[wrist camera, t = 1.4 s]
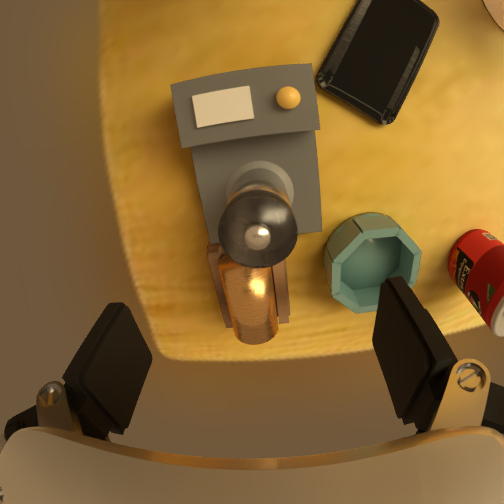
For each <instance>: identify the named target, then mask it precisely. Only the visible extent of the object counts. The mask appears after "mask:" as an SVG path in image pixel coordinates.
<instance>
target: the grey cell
mask: <svg viewBox="0 0 504 504" xmlns="http://www.w3.org/2000/svg"><path fill="white" fill-rule="evenodd" d="M297 236H298V229H297V223H296V220H295V216H294V213H293V211H292V208H291V204H290V201H289V197H288V194H287V190H286V187H285V184H284V182H283V180H282V179H281V178H280V176H279V175H277V174H276V173H275V172H273V171H271V170H268V169H264V168H255V169H251V170H248V171H246V172H245V173H243V174H242V175H241V176H240V177H239V178H238V180H237V181H236V183H235V185H234V188H233V190H232V193H231V196H230V198H229V201H228V203H227V206H226V207H225V209H224V211H223V214H222V216H221V219H220V222H219V226H218V237H219V241H220V244H221V246H222V248H223V250H224V252H225V253H226V254H227V255H228V256H229V257H230V258H231V259H232V260H234V261H235V262H237V263H238V264H241V265H243V266H246V267H250V268H267V267H271V266H274V265H276V264H278V263H280V262H281V261H283V260H284V259H285V258H286V257H288V256H289V254H290V253H291V252H292V250H293V249H294V247H295V244H296V241H297Z"/></svg>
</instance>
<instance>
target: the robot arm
mask: <svg viewBox="0 0 504 504" xmlns="http://www.w3.org/2000/svg"><path fill="white" fill-rule="evenodd" d="M372 342H373V347H374V350H375V352H376V355H377V357H378V360H379V363H380V366H381V369H382V372H383V375H384V378H385V381H386V384H387V387H388V390H389V393H390V396H391V399H392V402H393V405H394V409H395V412H396V415H397V417H398V418H402V420H403V423H404V425H406V424H409V423H413V422H414V423H415V426H416V428H417V431H416V433H415V435H413V436H408V437H404V438H401V439H397V440H393V441H389V442H385V443H380V444H377V445H371V446H366V447H361V448H356V449H350V450H345V451H339V452H332V453H326V454H318V455H309V456H299V457H285V458H265V459H264V458H262V459H230V458H229V459H228V458H210V457H196V456H186V455H178V454H170V453H163V452H156V451H150V450H144V449H138V448H134V447H129V446H124V445H119V444H116V443H112V442H111V441H110V438H109V436H108V433H109V431H111V432H112V433H116V434H121V435H123V433H124V430H125V429H126V428H128V426H129V424H130V421H131V418H132V415H133V412H134V409H135V406H136V404H137V401H138V398H139V395H140V392H141V389H142V387H143V384H144V381H145V379H146V376H147V373H148V370H149V368H150V365H151V363H152V354H151V352H150V350H149V348H148V346H147V344H146V342H145V340H144V338H143V336H142V334H141V332H140V330H139V328H138V326H137V324H136V322H135V320H134V318H133V316H132V313H131V311H130V309H129V308H128V307H127V306H125V304H124V303H122V302H119V303H109V304H108V305H107V306H106V308H105V309H104V311H103V313H102V314H101V315H100V317H99V318H98V320H97V321H96V323H95V324H94V326H93V328H92V329H91V331H90V332H89V334H88V335H87V337H86V338H85V340H84V342H83V343H82V345H81V346H80V348H79V350H78V351H77V353H76V354H75V356H74V358H73V360H72V361H71V363H70V364H69V366H68V368H67V370H66V371H65V373H64V375H63V377H62V378H63V379H64V381H65V382H66V383H65V384H64V385H63V384H62V383H61V382H59V381H51V382H48V383H46V384H45V385H44V386H43V387H41V389H40V390H39V392H38V394H37V396H36V405H35V406H33V407H31V408H29V409H27V410H25V411H24V412H22V413H20V414H18V415H16V416H14V417H12V418H11V419H10V420H9V421H8V422H7V424H6V426H5V432H4V434H1V435H0V504H504V387H502V386H500V385H497V384H495V383H492V382H490V374H489V371H488V369H487V368H486V367H485V366H484V365H483V364H482V363H481V362H479V361H477V360H474V359H463V360H461V361H459V362H458V360H457V358H456V356H455V355H454V353H453V351H452V349H451V348H450V346H449V344H448V343H447V341H446V339H445V337H444V336H443V334H442V333H441V331H440V329H439V328H438V326H437V324H436V323H435V321H434V320H433V318H432V317H431V315H430V313H429V312H428V311H427V310H426V309H425V308H423V306H422V305H421V303H420V302H419V300H418V299H417V297H416V296H415V294H414V293H413V291H412V290H411V288H410V287H409V285H408V284H407V282H406V281H405V280H404V278H403V277H402V276H396V277H389V278H386V280H385V282H384V283H381V286H380V293H379V300H378V307H377V314H376V320H375V326H374V332H373V338H372Z"/></svg>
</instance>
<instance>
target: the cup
mask: <svg viewBox="0 0 504 504" xmlns="http://www.w3.org/2000/svg"><path fill="white" fill-rule="evenodd" d="M483 1H484V4H485V6H486V8H487V10H488V11H489V13H490V15H491V16H492V18H493V19H494V20H495V22H496V23H497V24H498V25H499V26H500V27H501V28H502V29H503V30H504V0H483Z"/></svg>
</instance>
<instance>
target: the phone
mask: <svg viewBox="0 0 504 504" xmlns="http://www.w3.org/2000/svg"><path fill="white" fill-rule="evenodd" d="M438 26H439V18H438V16H437V14H436V13H435V12H434V11H433V10H432V9H430V8H429V7H428V6H427V5H425V4H424V3H423V2H421V1H420V0H358V1H357V3H356V5H355V6H354V8H353V10H352V12H351V13H350V15H349V17H348V19H347V21H346V22H345V24H344V26H343V28H342V30H341V31H340V33H339V35H338V37H337V39H336V40H335V42H334V44H333V46H332V48H331V50H330V51H329V53H328V55H327V57H326V59H325V61H324V62H323V64H322V66H321V68H320V70H319V72H318V74H317V83H318V85H319V86H320V88H321V89H323V90H324V91H326V92H328V93H330V94H331V95H333V96H335V97H337V98H338V99H340V100H342V101H344V102H345V103H347V104H349V105H350V106H352V107H354V108H355V109H357V110H358V111H360V112H362V113H363V114H365V115H366V116H368V117H369V118H371V119H372V120H374V121H375V122H377V123H379V124H386V125H387V124H390V123H392V122H393V121H394V120H395V118H396V116H397V114H398V112H399V110H400V108H401V106H402V104H403V102H404V100H405V98H406V96H407V94H408V92H409V90H410V88H411V86H412V84H413V82H414V80H415V78H416V76H417V73H418V71H419V69H420V67H421V65H422V63H423V61H424V58H425V56H426V54H427V52H428V49H429V47H430V45H431V43H432V40H433V38H434V36H435V33H436V31H437V28H438Z"/></svg>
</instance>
